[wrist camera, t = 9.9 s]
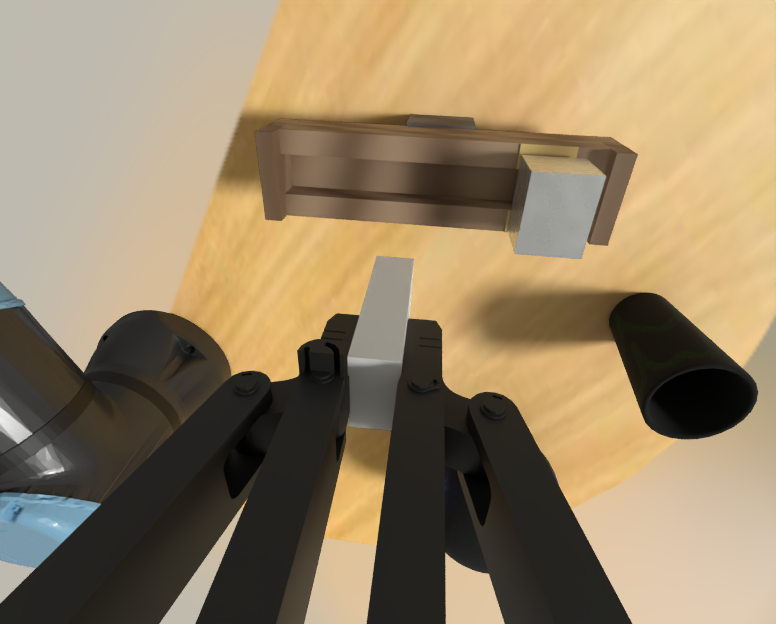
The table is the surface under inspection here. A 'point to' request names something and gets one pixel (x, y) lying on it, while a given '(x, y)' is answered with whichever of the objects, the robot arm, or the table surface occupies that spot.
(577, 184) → the block
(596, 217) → the beam
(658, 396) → the cup
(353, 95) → the table surface
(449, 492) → the decorative sphere
